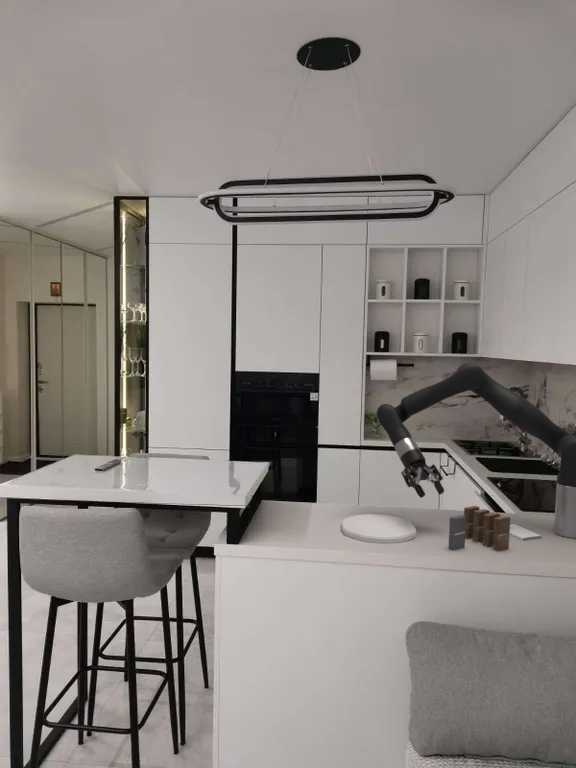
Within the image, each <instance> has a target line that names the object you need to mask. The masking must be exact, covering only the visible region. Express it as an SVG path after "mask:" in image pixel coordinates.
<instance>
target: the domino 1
mask: <svg viewBox="0 0 576 768" xmlns="http://www.w3.org/2000/svg"><path fill="white" fill-rule="evenodd" d="M448 527H449V528H448V529H449V530H448V550H451V551H457V550H460V549H461V550H462V549H464V548H465V547H466V545H465V543H466V538H465V529H466V516H464V514H463V515H462V514H459V515H454V516H450V517H449V526H448Z"/></svg>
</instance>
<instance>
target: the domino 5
mask: <svg viewBox="0 0 576 768" xmlns="http://www.w3.org/2000/svg"><path fill="white" fill-rule="evenodd" d="M510 524H511V516H507V515H500V517H497V518H494V535H493V546H492V550H494V551H497V552H501V551H504V550H508V549H509V546H510V535H509V533H510Z"/></svg>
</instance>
